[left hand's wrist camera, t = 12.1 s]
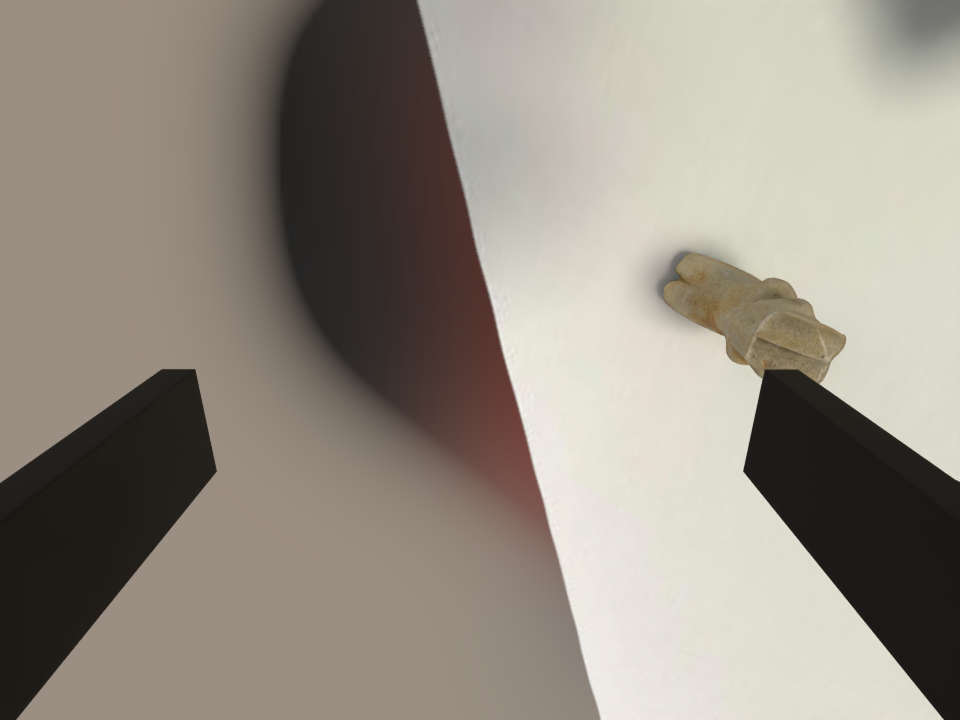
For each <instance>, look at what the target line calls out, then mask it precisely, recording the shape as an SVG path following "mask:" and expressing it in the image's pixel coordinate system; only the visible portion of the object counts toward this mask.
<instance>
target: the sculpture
mask: <svg viewBox="0 0 960 720" xmlns="http://www.w3.org/2000/svg"><path fill="white" fill-rule="evenodd" d="M676 272H677V273H678V275H679V276H680V279H678V280H675V281H671V282H669V283H668V284H667V285H666V286H665V288H664V294H663V298H664V301H665V302H666V304H667V305H668V306H669V307H671V308H672V309H674V310H675V311H677V312H678V313H680V314H681V315H683V316H685V317H687V318H688V319H690V320H692V321H693V322H695V323H697V324H699V325H701V326H703V327H705V328H707V329H710V330H712V331H714V332H716V333H718V334H720V335H723V336H725V338H726V352H727V355H728V357H729V358H730V359H731V360H732V361H733V362H735V363H738V364H742V365H750V366H751V368H752V369H753V370H754V372H755V373H756V374H757V375H758V376H759V377H761V378H763V375H764V371H765V369H798V370H800V371H801V372H803V373H804V374H805V375H807V376H808V377H810V378H811V379H812V380H814V381H815V382H817V383H818V384H819V383H821V382H822V381H823V379H824V377H825V375H826V374H827V372H828V369H829V365H830V363H831V361H832V360H833V358H835V357H836V356H837V355H838V354H839V353H840V352H841V350H842V349H843V348H844V346H845V343H846V336H845V335H843V334H841V333H839V332H838V331H836V330H835V329H833V328H830V327H828V326H826V325H824V324H822V323H820V322H819V321H818V320H817V319H816V318H815V315H814V312H813V308H812V306H811V304H810V303H809V302H807V301H806V300H803V299H799V298H797V295H796V293H795V291H794V289H793V288H792V286H791V285H790V284H789V283H788V282H786V281H784V280H781V279H777V278H767V279H765V280H764V281H761V280H759V279H758V278H756V277H754V276H753V275H751V274H749V273H747V272H745V271H742V270H740V269H738V268H736V267H733V266H731V265H729V264H726V263H724V262H721V261H718V260H715V259H713V258H710V257H707V256H703V255H700V254H697V253H691V254H688V255H686V256H685V257H684V258H683V259H682V260H681V262H680V263H679V264H678V265H677V267H676Z"/></svg>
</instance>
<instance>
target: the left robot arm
mask: <svg viewBox="0 0 960 720" xmlns="http://www.w3.org/2000/svg"><path fill="white" fill-rule="evenodd" d="M216 472H217V470H216V465H215V460H214V456H213V451H212V446H211V442H210V437H209V432H208V427H207V423H206V418H205V413H204V409H203V404H202V399H201V394H200V390H199V385H198V380H197V375H196V371H195V369H162V370H160V371H159V372H157V373H156V374H155V375H153V376H152V377H150V378H149V379H148V380H146V381H145V382H143V383H142V384H140V385H139V386H138V387H136V388H135V389H133V390H132V391H130V392H129V393H128V394H126V395H125V396H123V397H122V398H121V399H119V400H118V401H116V402H115V403H113V404H112V405H111V406H109V407H108V408H106V409H105V410H103V411H102V412H101V413H99V414H98V415H96V416H95V417H94V418H92V419H91V420H89V421H88V422H86V423H85V424H84V425H82V426H81V427H79V428H78V429H76V430H75V431H74V432H72V433H71V434H69V435H68V436H67V437H65V438H64V439H62V440H61V441H59V442H58V443H57V444H55V445H54V446H52V447H51V448H49V449H48V450H47V451H45V452H44V453H42V454H41V455H39V456H38V457H37V458H35V459H34V460H32V461H31V462H29V463H28V464H27V465H25V466H24V467H22V468H21V469H20V470H18V471H17V472H15V473H14V474H12V475H11V476H10V477H8V478H7V479H5V480H4V481H2V482H1V483H0V720H16V719H17V718H18V717H19V715H20V714H21V713H22V712H23V711H24V709H25V708H26V707H27V706H28V704H29V703H30V702H31V701H32V699H33V698H34V697H35V696H36V694H37V693H38V692H39V691H40V690H41V688H42V687H43V686H44V685H45V683H46V682H47V681H48V680H49V678H50V677H51V676H52V675H53V673H54V672H55V671H56V670H57V668H58V667H59V666H60V665H61V664H62V662H63V661H64V660H65V659H66V657H67V656H68V655H69V654H70V652H71V651H72V650H73V649H74V647H75V646H76V645H77V644H78V642H79V641H80V640H81V639H82V638H83V636H84V635H85V634H86V633H87V631H88V630H89V629H90V628H91V626H92V625H93V624H94V623H95V621H96V620H97V619H98V618H99V616H100V615H101V614H102V613H103V612H104V610H105V609H106V608H107V607H108V605H109V604H110V603H111V602H112V600H113V599H114V598H115V597H116V595H117V594H118V593H119V592H120V590H121V589H122V588H123V587H124V586H125V584H126V583H127V582H128V581H129V579H130V578H131V577H132V576H133V574H134V573H135V572H136V571H137V569H138V568H139V567H140V566H141V565H142V563H143V562H144V561H145V560H146V558H147V557H148V556H149V555H150V553H151V552H152V551H153V550H154V548H155V547H156V546H157V545H158V544H159V542H160V541H161V540H162V539H163V537H164V536H165V535H166V534H167V532H168V531H169V530H170V529H171V527H172V526H173V525H174V524H175V522H176V521H177V520H178V519H179V518H180V516H181V515H182V514H183V513H184V511H185V510H186V509H187V508H188V506H189V505H190V504H191V503H192V501H193V500H194V499H195V498H196V496H197V495H198V494H199V493H200V492H201V490H202V489H203V488H204V487H205V485H206V484H207V483H208V482H209V480H210V479H211V478H212V477H213V475H214V474H215V473H216ZM743 472H744V473H745V474H746V475H747V477H748V478H749V479H750V480H751V482H752V483H753V484H754V485H755V487H756V488H757V489H758V490H759V492H760V493H761V494H762V495H763V496H764V498H765V499H766V500H767V501H768V503H769V504H770V505H771V506H772V508H773V509H774V510H775V511H776V513H777V514H778V515H779V516H780V518H781V519H782V520H783V521H784V522H785V524H786V525H787V526H788V527H789V529H790V530H791V531H792V532H793V534H794V535H795V536H796V537H797V539H798V540H799V541H800V542H801V544H802V545H803V546H804V547H805V548H806V550H807V551H808V552H809V553H810V555H811V556H812V557H813V558H814V560H815V561H816V562H817V563H818V565H819V566H820V567H821V568H822V569H823V571H824V572H825V573H826V574H827V576H828V577H829V578H830V579H831V581H832V582H833V583H834V584H835V586H836V587H837V588H838V589H839V591H840V592H841V593H842V594H843V595H844V597H845V598H846V599H847V600H848V602H849V603H850V604H851V605H852V607H853V608H854V609H855V610H856V612H857V613H858V614H859V615H860V617H861V618H862V619H863V620H864V621H865V623H866V624H867V625H868V626H869V628H870V629H871V630H872V631H873V633H874V634H875V635H876V636H877V638H878V639H879V640H880V641H881V643H882V644H883V645H884V646H885V647H886V649H887V650H888V651H889V652H890V654H891V655H892V656H893V657H894V659H895V660H896V661H897V662H898V664H899V665H900V666H901V667H902V668H903V670H904V671H905V672H906V673H907V675H908V676H909V677H910V678H911V680H912V681H913V682H914V683H915V685H916V686H917V687H918V688H919V690H920V691H921V692H922V693H923V694H924V696H925V697H926V698H927V699H928V701H929V702H930V703H931V704H932V706H933V707H934V708H935V709H936V711H937V712H938V713H939V714H940V716H941V717H942V718H943V719H944V720H960V482H959V481H957V480H955V479H953V478H952V477H950V476H949V475H948V474H946V473H945V472H943V471H942V470H940V469H939V468H938V467H936V466H935V465H933V464H932V463H931V462H929V461H928V460H926V459H925V458H923V457H922V456H921V455H919V454H918V453H916V452H915V451H913V450H912V449H911V448H909V447H908V446H906V445H905V444H903V443H902V442H901V441H899V440H898V439H896V438H895V437H894V436H892V435H891V434H889V433H888V432H886V431H885V430H884V429H882V428H881V427H879V426H878V425H876V424H875V423H874V422H872V421H871V420H869V419H868V418H867V417H865V416H864V415H862V414H861V413H859V412H858V411H857V410H855V409H854V408H852V407H851V406H849V405H848V404H847V403H845V402H844V401H842V400H841V399H840V398H838V397H837V396H835V395H834V394H832V393H831V392H830V391H828V390H827V389H825V388H824V387H822V386H821V385H820V384H818V383H817V382H815V381H814V380H812V379H811V378H810V377H808V376H807V375H805V374H804V373H803V372H801V371H800V370H798V369H765V371H764V375H763V380H762V385H761V389H760V394H759V399H758V404H757V408H756V413H755V418H754V423H753V427H752V432H751V437H750V441H749V446H748V451H747V456H746V460H745V465H744V470H743Z"/></svg>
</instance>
